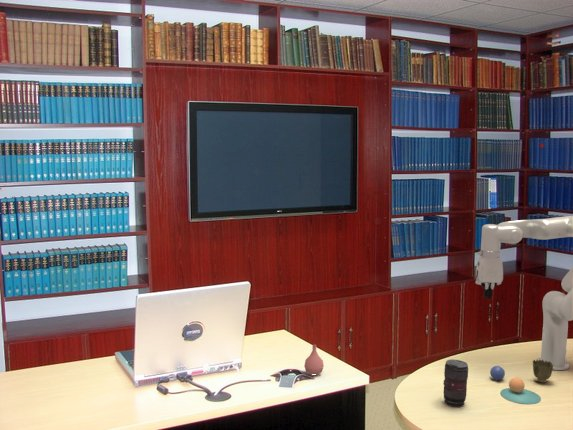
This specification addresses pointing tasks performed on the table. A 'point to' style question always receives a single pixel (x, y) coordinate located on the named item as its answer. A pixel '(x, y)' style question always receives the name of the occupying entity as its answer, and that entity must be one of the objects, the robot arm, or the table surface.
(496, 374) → the blue ball
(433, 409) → the table surface
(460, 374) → the camera lens
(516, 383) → the object ball
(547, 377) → the cup
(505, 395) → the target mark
